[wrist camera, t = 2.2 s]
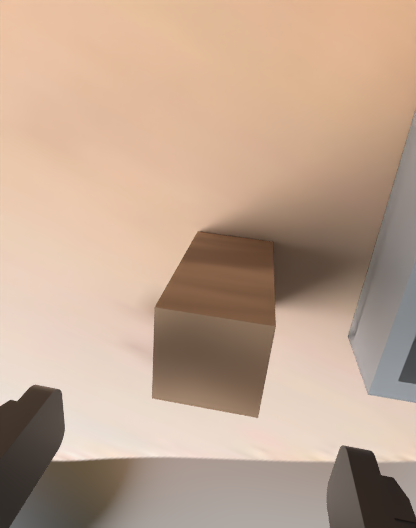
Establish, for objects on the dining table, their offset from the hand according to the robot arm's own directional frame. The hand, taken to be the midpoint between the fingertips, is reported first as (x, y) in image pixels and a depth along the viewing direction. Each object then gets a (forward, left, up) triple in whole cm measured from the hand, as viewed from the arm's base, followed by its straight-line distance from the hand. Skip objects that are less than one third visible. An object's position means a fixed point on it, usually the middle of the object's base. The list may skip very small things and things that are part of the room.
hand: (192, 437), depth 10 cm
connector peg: (0, 0, -11) cm, 11 cm away
